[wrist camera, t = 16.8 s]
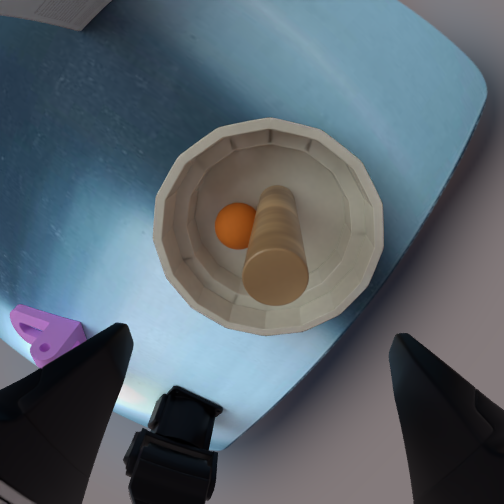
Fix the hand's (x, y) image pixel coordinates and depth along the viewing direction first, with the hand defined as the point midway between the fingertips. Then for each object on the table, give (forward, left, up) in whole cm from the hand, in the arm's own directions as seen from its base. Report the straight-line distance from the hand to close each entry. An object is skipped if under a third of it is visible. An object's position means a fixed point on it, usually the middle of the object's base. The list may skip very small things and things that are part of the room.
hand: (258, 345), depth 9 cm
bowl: (0, 0, -13) cm, 13 cm away
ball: (+2, +1, -11) cm, 11 cm away
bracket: (+14, +27, -13) cm, 33 cm away
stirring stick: (0, -1, -12) cm, 12 cm away
